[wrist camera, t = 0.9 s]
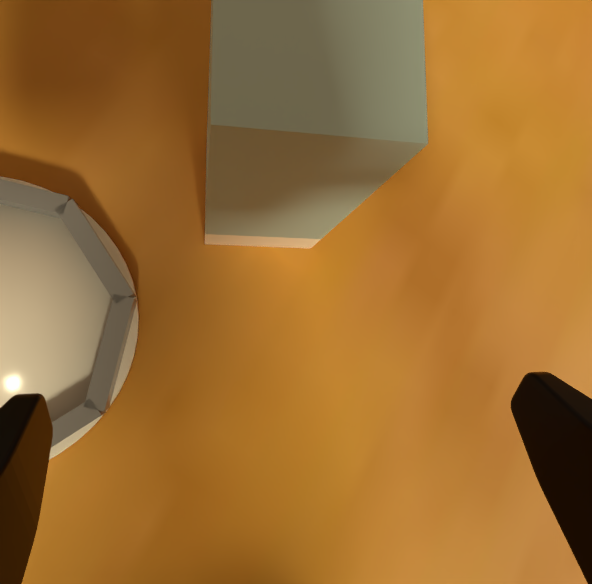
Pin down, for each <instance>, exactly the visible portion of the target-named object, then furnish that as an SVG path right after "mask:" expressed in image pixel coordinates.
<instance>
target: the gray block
mask: <svg viewBox="0 0 592 584" xmlns="http://www.w3.org/2000/svg"><path fill="white" fill-rule="evenodd" d="M427 144H428V128H427V101H426V73H425V46H424V19H423V0H212V1H211V30H210V58H209V87H208V115H207V147H206V198H205V244H211V245H237V246H262V247H288V248H312V247H313V246H314V245H315V244H316V243H317V242H318V241H320V240H321V239H322V238H323V237H324V236H325V235H326V234H327V233H328V232H330V231H331V230H332V229H333V228H334V227H335V226H336V225H337V224H339V223H340V222H341V221H342V220H343V219H344V218H345V217H346V216H348V215H349V214H350V213H351V212H352V211H353V210H354V209H355V208H357V207H358V206H359V205H360V204H361V203H362V202H363V201H364V200H366V199H367V198H368V197H369V196H370V195H371V194H372V193H373V192H375V191H376V190H377V189H378V188H379V187H380V186H381V185H382V184H383V183H385V182H386V181H387V180H388V179H389V178H390V177H391V176H392V175H394V174H395V173H396V172H397V171H398V170H399V169H400V168H401V167H403V166H404V165H405V164H406V163H407V162H408V161H409V160H410V159H412V158H413V157H414V156H415V155H416V154H417V153H418V152H419V151H421V150H422V149H423V148H424V147H425V146H426V145H427Z"/></svg>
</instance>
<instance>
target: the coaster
mask: <svg viewBox="0 0 592 584" xmlns="http://www.w3.org/2000/svg"><path fill="white" fill-rule="evenodd" d="M138 331H139V311H138V300H137V295H136V291H135V287H134V282H133V280H132V277H131V274H130V272H129V269H128V266H127V264H126V262H125V260H124V259H123V257H122V255H121V253H120V251H119V250H118V248H117V247H116V245H115V244H114V243H113V241H112V240H111V239H110V237H109V236H108V234H107V233H106V232H105V231H104V230H103V229H102V228H101V227H100V226H99V225H98V224H97V223H96V221H95V220H94V219H93V218H92V217H90V216H89V215H88V214H87V213H85V212H84V211H83V210H82V209H80V207H79V206H78V204H77V203H76V202H75V201H74V200H73V199H71V198H70V197H69V196H67V195H63V194H59V193H55V192H52V191H50V190H47V189H45V188H43V187H41V186H37V185H34V184H31V183H28V182H25V181H22V180H17V179H11V178H6V177H1V176H0V408H1V407H2V406H3V405H4V404H5V403H6V402H7V401H8V400H9V399H10V398H11V397H13V396H14V395H17V394H31V393H39V394H42V395H43V396H44V398H45V400H46V404H47V408H48V411H49V415H50V418H51V422H52V426H53V438H52V445H51V450H50V456H49V459H51V458H53V457H55V456H56V455H58V454H60V453H61V452H63V451H64V450H65V449H67V448H68V447H69V446H71V445H72V444H74V443H75V442H76V441H78V440H79V439H80V438H81V437H83V436H84V435H85V434H86V433H87V432H88V431H89V430H90V429H91V428H92V427H93V426H94V425H95V424H96V423H97V422H98V421H99V420H100V419H101V417H102V416H103V415H104V414H105V413H106V411H107V410H108V409H109V408H110V406H111V405H112V403H113V402H114V400H115V399H116V397H117V395H118V394H119V392H120V391H121V389H122V386H123V384H124V382H125V380H126V378H127V376H128V374H129V371H130V368H131V365H132V362H133V359H134V356H135V351H136V346H137V340H138Z"/></svg>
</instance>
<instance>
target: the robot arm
mask: <svg viewBox="0 0 592 584" xmlns="http://www.w3.org/2000/svg"><path fill="white" fill-rule="evenodd" d="M511 410H512V413H513V416H514V419H515V421H516V424H517V427H518V429H519V432H520V435H521V437H522V440H523V443H524V445H525V448H526V451H527V453H528V456H529V459H530V461H531V464H532V467H533V469H534V472H535V474H536V477H537V479H538V482H539V484H540V486H541V488H542V490H543V493H544V495H545V497H546V499H547V501H548V503H549V505H550V507H551V509H552V511H553V513H554V515H555V517H556V519H557V521H558V523H559V525H560V527H561V530H562V532H563V534H564V536H565V538H566V540H567V542H568V544H569V546H570V548H571V550H572V552H573V554H574V556H575V558H576V560H577V562H578V564H579V566H580V568H581V570H582V573H583V575H584V577H585V579H586V581H587V583H588V584H592V399H591V398H589V397H587V396H586V395H584V394H583V393H581V392H579V391H578V390H576V389H575V388H573V387H572V386H570V385H568V384H567V383H565V382H564V381H562V380H560V379H559V378H557V377H556V376H554V375H552V374H551V373H548V372H531V373H528V374H526V375H525V376H524V378H523V379H522V381H521V383H520V385H519V387H518V388H517V390H516V392H515V394H514V396H513V397H512V400H511ZM52 438H53V426H52V422H51V418H50V415H49V411H48V408H47V404H46V400H45V398H44V396H43V395H42V394H39V393H31V394H17V395H14V396H13V397H11V398H10V399H9V400H8V401H7V402H6V403H5V404H4V405H3V406H2V407H1V408H0V584H21V583H22V580H23V577H24V573H25V570H26V566H27V563H28V559H29V556H30V552H31V549H32V546H33V542H34V538H35V534H36V530H37V526H38V521H39V515H40V510H41V504H42V498H43V492H44V486H45V480H46V474H47V468H48V462H49V456H50V450H51V445H52Z"/></svg>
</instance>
